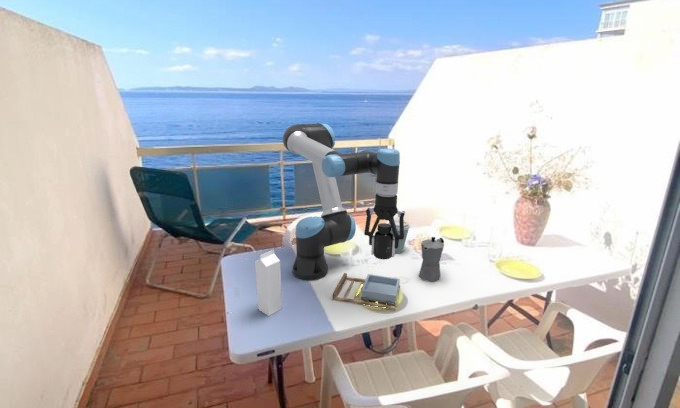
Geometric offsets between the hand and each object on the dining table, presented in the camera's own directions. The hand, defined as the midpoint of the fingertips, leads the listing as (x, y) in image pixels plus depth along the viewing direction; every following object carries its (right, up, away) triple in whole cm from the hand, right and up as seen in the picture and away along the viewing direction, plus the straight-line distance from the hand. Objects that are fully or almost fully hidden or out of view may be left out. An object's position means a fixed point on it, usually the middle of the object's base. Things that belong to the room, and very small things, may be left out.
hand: (383, 254), depth 126 cm
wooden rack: (-5, -16, +6) cm, 18 cm away
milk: (-41, -19, -4) cm, 45 cm away
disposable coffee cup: (+12, -5, +44) cm, 46 cm away
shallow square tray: (0, -16, +5) cm, 17 cm away
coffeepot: (+23, -12, +20) cm, 33 cm away
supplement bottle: (0, -1, 0) cm, 1 cm away
